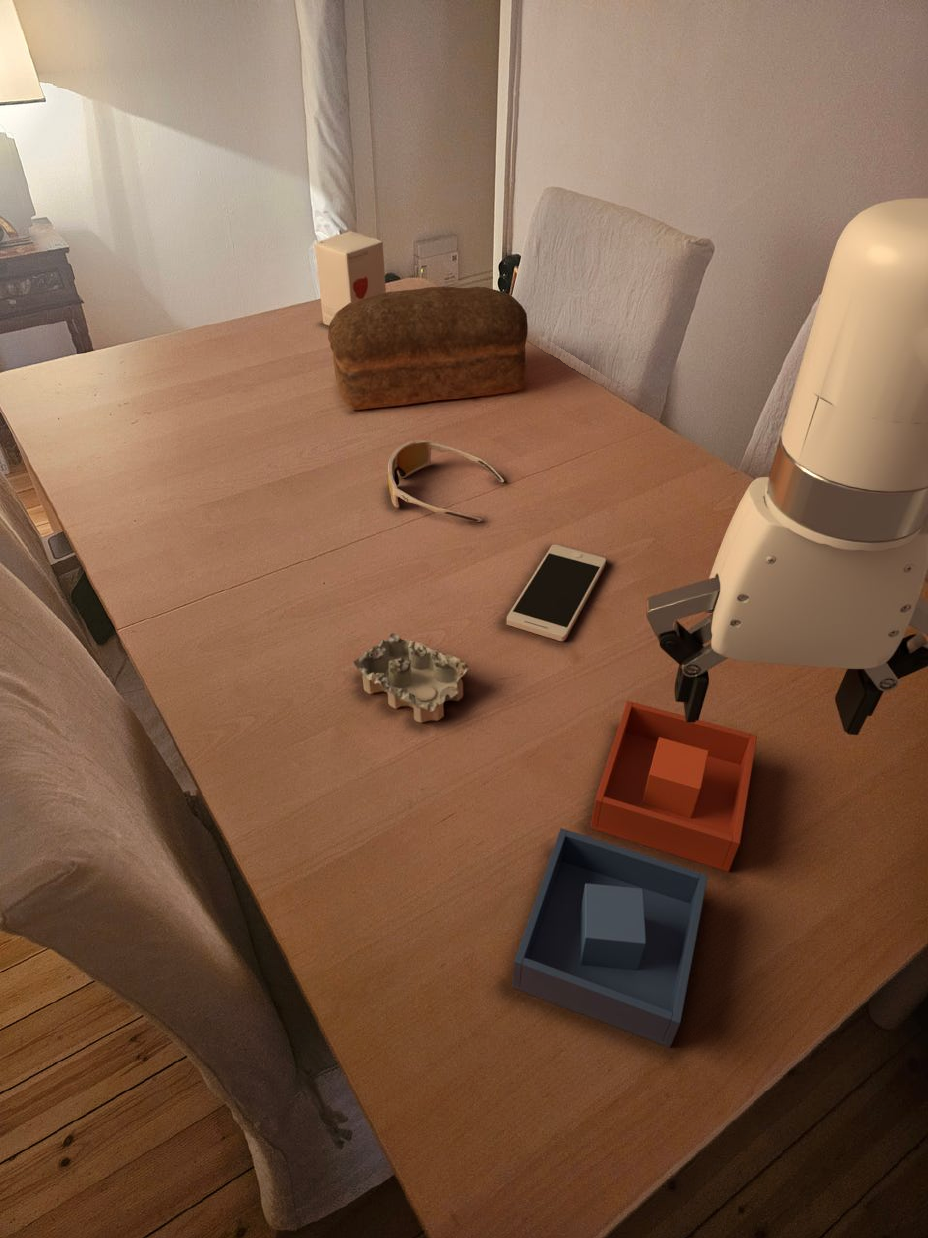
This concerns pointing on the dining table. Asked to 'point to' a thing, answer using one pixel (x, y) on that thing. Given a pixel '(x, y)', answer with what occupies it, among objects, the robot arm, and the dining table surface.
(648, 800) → the terracotta block
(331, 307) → the white product box
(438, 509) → the sunglasses
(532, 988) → the blue bin
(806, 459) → the robot arm
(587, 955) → the blue block
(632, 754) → the terracotta bin
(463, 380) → the bread
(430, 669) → the egg carton
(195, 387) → the dining table surface
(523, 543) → the dining table surface
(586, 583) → the smartphone
